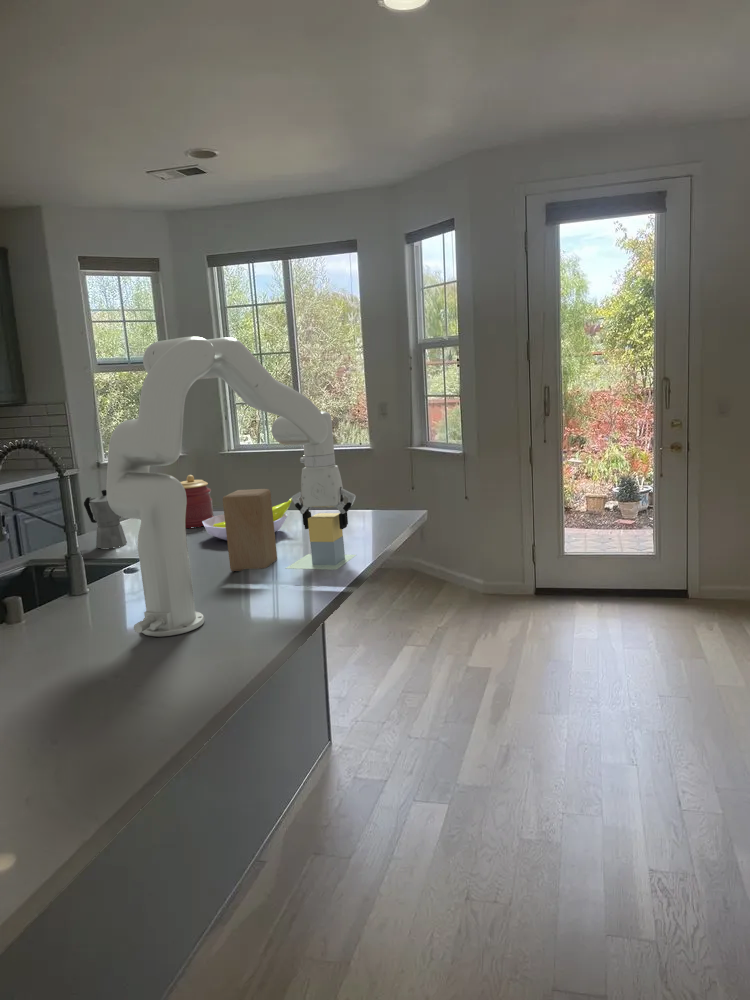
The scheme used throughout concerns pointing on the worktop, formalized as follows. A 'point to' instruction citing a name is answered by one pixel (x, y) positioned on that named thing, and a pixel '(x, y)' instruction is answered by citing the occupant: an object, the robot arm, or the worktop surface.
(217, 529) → the fruit bowl
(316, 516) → the ochre brick
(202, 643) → the worktop surface
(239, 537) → the block
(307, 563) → the plate
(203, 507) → the canister
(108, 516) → the coffeepot
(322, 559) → the slate brick
